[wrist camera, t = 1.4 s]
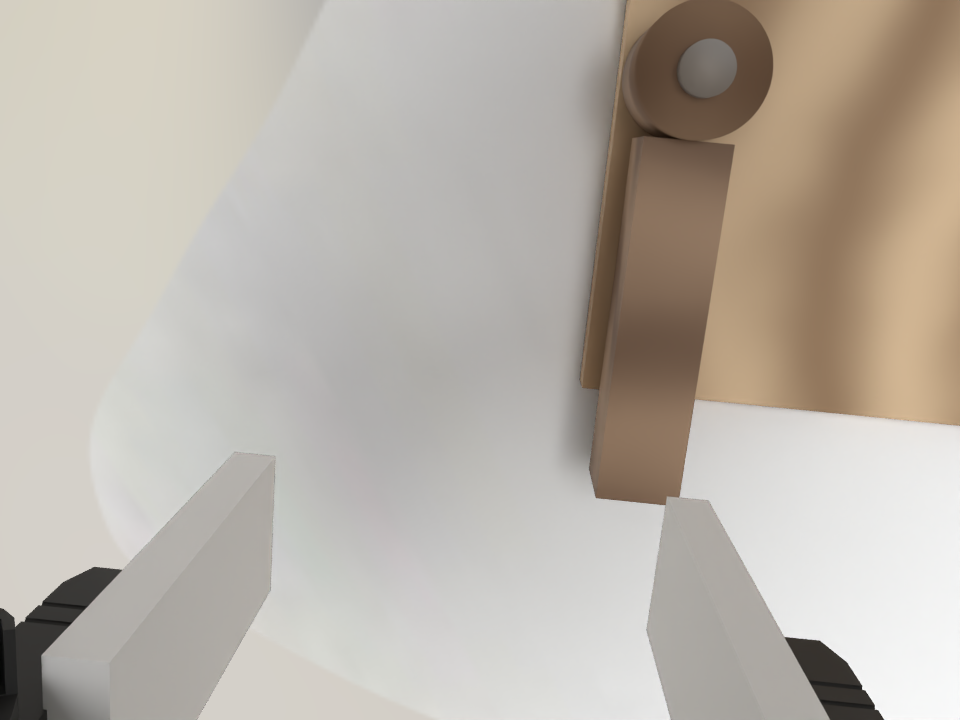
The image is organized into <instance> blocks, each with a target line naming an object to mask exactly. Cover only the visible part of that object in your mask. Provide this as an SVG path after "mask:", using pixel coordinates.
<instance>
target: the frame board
mask: <svg viewBox="0 0 960 720" xmlns="http://www.w3.org/2000/svg"><path fill="white" fill-rule="evenodd" d="M686 1H688V0H627V3H626V11H625V19H624V27H623V36H622V44H621V52H620V60H619V68H618V76H617V84H616V92H615V100H614V108H613V116H612V124H611V132H610V140H609V148H608V156H607V164H606V172H605V181H604V189H603V197H602V205H601V213H600V221H599V229H598V237H597V245H596V253H595V261H594V269H593V277H592V285H591V293H590V301H589V309H588V318H587V326H586V334H585V342H584V350H583V358H582V366H581V374H580V382H581V386H582V388H589V389H600V381H601V373H602V366H603V358H604V350H605V343H606V335H607V327H608V320H609V312H610V304H611V297H612V289H613V281H614V273H615V266H616V258H617V250H618V243H619V235H620V227H621V220H622V212H623V204H624V197H625V189H626V181H627V174H628V166H629V158H630V151H631V143H632V138H635V137H642V136H648V137H654V136H652V135H651V134H649V133H647V132H646V131H644V130H643V129H642V128H641V127H640V126H639V125H638V124H637V123H636V122H635V121H634V119H633V118H632V116H631V115H630V113H629V111H628V109H627V107H626V104H625V101H624V98H623V92H622V73H623V68H624V64H625V61H626V58H627V56H628V54H629V52H630V50H631V48H632V47H633V45H634V44H635V42H636V41H637V40H638V39H639V37H640V36H642V35H643V34H644V33H645V32H646V31H647V30H648V29H649V28H650V27H651V26H652V25H653V24H654V23H655V22H656V21H657V20H658V19H659V18H660V17H661V16H662V15H663V14H665V13H666V12H667V11H669V10H670V9H671V8H673V7H675V6H677V5H678V4H681V3H683V2H686ZM729 1H732V2H734V3H737V4H739V5H741V6H742V7H744V8H745V9H747V10H748V11H749V12H750V13H752V14H753V15H754V16H755V17H756V18H757V20H758V21H759V22H760V23H761V25H762V26H763V28H764V30H765V31H766V34H767V36H768V38H769V41H770V44H771V48H772V53H773V76H772V81H771V85H770V88H769V91H768V93H767V96H766V98H765V100H764V102H763V103H762V105H761V106H760V108H759V109H758V111H757V112H756V113H755V114H754V116H753V117H752V118H751V119H750V120H749V121H748V122H746V123H745V124H744V125H743V126H741V127H740V128H739V129H737V130H735V131H733V132H732V133H730V134H727V135H725V136H722V137H719V138H715V139H710V140H700V141H701V142H712V143H722V144H733V145H735V148H734V154H733V161H732V167H731V173H730V180H729V186H728V192H727V198H726V205H725V211H724V217H723V224H722V230H721V236H720V243H719V249H718V255H717V262H716V268H715V274H714V281H713V287H712V293H711V300H710V306H709V312H708V319H707V325H706V331H705V337H704V344H703V350H702V356H701V363H700V369H699V375H698V382H697V388H696V394H695V399H699V400H709V401H719V402H729V403H739V404H749V405H759V406H769V407H779V408H789V409H799V410H809V411H819V412H829V413H839V414H849V415H859V416H869V417H879V418H889V419H899V420H909V421H919V422H929V423H939V424H949V425H959V426H960V0H729Z"/></svg>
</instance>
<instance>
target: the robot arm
mask: <svg viewBox="0 0 960 720" xmlns="http://www.w3.org/2000/svg"><path fill="white" fill-rule="evenodd" d="M274 483H275V456H267V455H258V454H248V453H238V452H234V454H233V455H232V456H231V457H230V458H229V459H228V460H227V461H226V462H225V463H224V464H223V465H222V466H221V467H220V468H219V469H218V470H217V471H216V472H215V473H214V475H213V476H212V477H211V478H210V479H209V480H208V481H207V482H206V483H205V484H204V485H203V486H202V487H201V488H200V489H199V490H198V491H197V492H196V493H195V494H194V496H193V497H192V498H191V499H190V500H189V501H188V502H187V503H186V504H185V505H184V506H183V507H182V508H181V509H180V510H179V511H178V512H177V513H176V514H175V515H174V517H173V518H172V519H171V520H170V521H169V522H168V523H167V524H166V525H165V526H164V527H163V528H162V529H161V530H160V531H159V532H158V533H157V534H156V535H155V537H154V538H153V539H152V540H151V541H150V542H149V543H148V544H147V545H146V546H145V547H144V548H143V549H142V550H141V551H140V552H139V553H138V554H137V555H136V556H135V558H134V559H133V560H132V561H131V562H130V563H129V564H128V565H127V566H126V567H125V568H124V569H123V570H119V569H109V568H100V567H93V568H92V569H89V570H87V571H85V572H83V573H81V574H79V575H77V576H75V577H73V578H71V579H69V580H67V581H65V582H63V583H62V584H61V585H60V586H59V587H58V588H57V589H56V590H54V592H52V593H51V594H50V595H49V596H48V597H47V598H46V599H45V600H44V601H43V603H42V606H40V605H39V606H37V607H36V608H35V609H34V610H33V611H32V612H31V613H30V614H29V615H28V616H27V617H26V620H25V622H21V623H19V624H18V625H17V626H16V627H15V622H14V617H13V616H11V615H10V614H9V613H8V612H7V611H5V610H4V609H1V608H0V720H197V719H198V717H199V715H200V713H201V712H202V710H203V708H204V706H205V705H206V703H207V701H208V699H209V698H210V696H211V694H212V692H213V690H214V689H215V687H216V685H217V683H218V682H219V680H220V678H221V676H222V675H223V673H224V671H225V669H226V668H227V665H228V664H229V662H230V661H231V659H232V657H233V655H234V654H235V652H236V650H237V648H238V646H239V645H240V643H241V641H242V639H243V638H244V636H245V634H246V632H247V631H248V629H249V627H250V625H251V624H252V622H253V620H254V618H255V617H256V615H257V613H258V611H259V610H260V608H261V606H262V604H263V602H264V601H265V599H266V597H267V595H268V594H269V592H270V590H271V564H272V537H273V510H274ZM646 630H647V634H648V637H649V641H650V645H651V648H652V652H653V656H654V659H655V663H656V667H657V670H658V674H659V678H660V681H661V685H662V689H663V692H664V696H665V700H666V703H667V707H668V711H669V714H670V718H671V720H884V719H883V717H882V716H881V714H880V713H879V711H878V710H875V705H874V703H873V702H872V700H871V699H870V697H869V696H868V694H867V693H866V691H865V690H862V685H861V683H860V682H859V680H858V679H857V677H856V676H855V674H854V673H853V671H852V670H851V668H850V666H849V665H848V663H847V662H846V661H844V660H843V659H842V658H841V657H839V656H838V655H837V654H836V653H834V652H833V651H832V650H831V649H829V648H828V647H827V646H826V645H824V644H823V643H822V642H821V641H817V640H807V639H798V638H788V637H784V636H783V634H782V632H781V630H780V629H779V627H778V625H777V623H776V621H775V620H774V618H773V616H772V614H771V612H770V611H769V609H768V607H767V605H766V603H765V602H764V600H763V598H762V596H761V594H760V592H759V591H758V589H757V587H756V585H755V583H754V582H753V580H752V578H751V576H750V574H749V573H748V571H747V569H746V567H745V565H744V564H743V562H742V560H741V558H740V556H739V555H738V553H737V551H736V549H735V547H734V546H733V544H732V542H731V540H730V538H729V537H728V535H727V533H726V531H725V529H724V528H723V526H722V524H721V522H720V520H719V519H718V517H717V515H716V513H715V511H714V510H713V508H712V506H711V504H710V502H709V501H707V500H697V499H688V498H678V497H668V496H667V500H666V507H665V513H664V519H663V526H662V532H661V539H660V545H659V552H658V558H657V565H656V571H655V578H654V584H653V591H652V597H651V604H650V610H649V617H648V623H647V629H646Z"/></svg>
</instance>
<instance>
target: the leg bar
mask: <svg viewBox="0 0 960 720" xmlns="http://www.w3.org/2000/svg"><path fill="white" fill-rule="evenodd" d="M772 76H773V53H772V48H771V44H770V41H769V38H768V36H767V34H766V31H765V30H764V28H763V26H762V25H761V23H760V22H759V21H758V20H757V18H756V17H755V16H754V15H753V14H752V13H750V12H749V11H748V10H747V9H745V8H744V7H742V6H741V5H739V4H737V3H734V2H732V1H729V0H688V1H686V2H683V3H681V4H678V5H677V6H675V7H673V8H671V9H670V10H669V11H667V12H666V13H665V14H663V15H662V16H661V17H660V18H659V19H658V20H657V21H656V22H655V23H654V24H653V25H652V26H651V27H650V28H649V29H648V30H647V31H646V32H645V33H644V34H643V35H642V36H640V37H639V39H638V40H637V41H636V42H635V44H634V45H633V47H632V48H631V50H630V52H629V54H628V56H627V58H626V61H625V64H624V68H623V73H622V92H623V98H624V101H625V104H626V107H627V109H628V111H629V113H630V115H631V116H632V118H633V119H634V121H635V122H636V123H637V124H638V125H639V126H640V127H641V128H642V129H643V130H644V131H646V132H647V133H649V134H651V135H652V136H654V137H648V136H642V137H635V138H632V143H631V151H630V158H629V166H628V174H627V181H626V189H625V197H624V204H623V212H622V220H621V227H620V235H619V243H618V250H617V258H616V266H615V273H614V281H613V289H612V297H611V304H610V312H609V320H608V327H607V335H606V343H605V350H604V358H603V366H602V373H601V381H600V389H599V396H598V404H597V412H596V419H595V427H594V435H593V442H592V450H591V458H590V466H589V470H590V475H591V479H592V484H593V488H594V492H595V497H596V498H601V499H611V500H620V501H630V502H640V503H649V504H659V505H666V500H667V496H668V497H678V498H679V495H680V489H681V483H682V476H683V470H684V464H685V458H686V451H687V445H688V439H689V432H690V426H691V420H692V413H693V407H694V401H695V394H696V388H697V382H698V375H699V369H700V363H701V356H702V350H703V344H704V337H705V331H706V325H707V319H708V312H709V306H710V300H711V293H712V287H713V281H714V274H715V268H716V262H717V255H718V249H719V243H720V236H721V230H722V224H723V217H724V211H725V205H726V198H727V192H728V186H729V180H730V173H731V167H732V161H733V154H734V148H735V145H733V144H722V143H712V142H701V141H700V140H710V139H715V138H719V137H722V136H725V135H727V134H730V133H732V132H733V131H735V130H737V129H739V128H740V127H741V126H743V125H744V124H745V123H746V122H748V121H749V120H750V119H751V118H752V117H753V116H754V114H755V113H756V112H757V111H758V109H759V108H760V106H761V105H762V103H763V102H764V100H765V98H766V96H767V93H768V91H769V88H770V85H771V81H772Z"/></svg>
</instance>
